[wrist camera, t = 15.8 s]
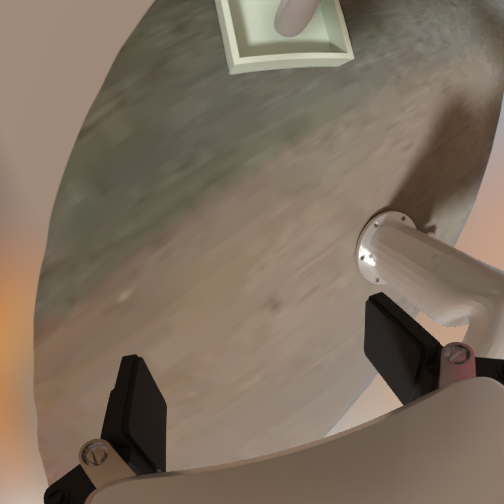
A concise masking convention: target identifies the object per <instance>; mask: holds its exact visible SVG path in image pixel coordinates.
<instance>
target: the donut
mask: <svg viewBox="0 0 504 504" xmlns="http://www.w3.org/2000/svg"><path fill="white" fill-rule="evenodd" d="M319 2H320V0H281V2H280V4H279V7H278V9H277V12H276V16H275V19H274V28H275V30H276V32H277V33H278V34H280V35H282V36H284V37H294V36H297V35H298V34H300V33H301V32H302V31H303V30H304V29H305V28H306V26H307V25H308V23H309V22H310V20H311V19H312V17H313V15H314V13H315V11H316V9H317V7H318V4H319Z"/></svg>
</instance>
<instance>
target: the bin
mask: <svg viewBox="0 0 504 504" xmlns="http://www.w3.org/2000/svg"><path fill="white" fill-rule="evenodd" d="M280 2H281V0H215V5H216V10H217V15H218V20H219V25H220V30H221V35H222V40H223V45H224V50H225V55H226V60H227V65H228V70H229V75H231V74H238V73H246V72H254V71H263V70H273V69H285V68H302V67H338V66H340V65H342V64H344V63H346V62H348V61H351V60H353V59H354V55H353V51H352V47H351V43H350V39H349V35H348V31H347V27H346V24H345V20H344V17H343V13H342V10H341V7H340V3H339V0H320V2H319V4H318V7H317V9H316V11H315V13H314V15H313V17H312V19H311V20H310V22H309V23H308V25H307V26H306V28H305V29H304V30H303V31H302V32H301V33H300V34H298V35H297V36H294V37H284V36H282V35H280V34H278V33H277V32H276V30H275V28H274V19H275V16H276V12H277V9H278V7H279V4H280Z"/></svg>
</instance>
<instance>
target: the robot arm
mask: <svg viewBox="0 0 504 504" xmlns="http://www.w3.org/2000/svg"><path fill="white" fill-rule="evenodd" d="M434 237H435V236H434V233H433V232H428V233H426V234H425V233H423V232H421V231H419V230H417V228H416V226H415V224H414V222H413V221H412V220H411V218H410V217H408V216H407V215H406V214H403V213H401V212H398V211H386V212H383V213H381V214H378V215H377V216H375V217H374V218H373V219H372V220H371V221H370V222H369V223H368V224H367V225H366V226H365V228H364V229H363V231H362V233H361V235H360V237H359V240H358V243H357V248H356V262H357V266H358V269H359V271H360V272H361V274H362V275H363V276H364V277H365V278H366V279H367V280H369V281H370V282H372V283H374V284H379V285H383V284H389V285H390V286H391V287H393V288H394V289H395V290H397V291H398V292H399V293H400V294H402V295H403V296H404V297H405V298H407V299H408V300H409V301H410V302H411V303H413V304H414V305H415V306H416V307H418V308H419V309H420V310H421V311H423V312H424V313H425V314H426V315H427V316H428V317H429V318H431V319H432V320H433V321H434V322H436V323H438V324H440V325H442V326H446V327H457V326H463V325H467V324H469V327H468V330H467V332H466V334H465V336H464V339H463V341H462V343H460V342H452V343H450V344H447V345H446V346H444V347H443V346H442V345H441V344H440V343H439V342H438V341H437V340H436V339H435V338H434V337H433V336H432V335H431V334H430V333H428V332H427V331H426V330H425V329H424V328H423V327H422V326H421V325H420V324H419V323H417V322H416V321H415V320H414V319H413V318H412V317H411V316H410V315H408V314H407V313H406V312H405V311H404V310H403V309H402V308H400V307H399V306H398V305H397V304H396V303H395V302H393V301H392V300H391V299H390V298H389V297H388V296H386V295H385V294H384V293H383V292H380V293H377V294H374V295H371V296H369V299H368V300H367V301H366V306H365V338H364V352H365V355H366V357H367V358H368V359H369V360H370V362H371V363H372V364H373V366H374V367H375V368H376V370H377V371H378V372H379V373H380V375H381V376H382V377H383V379H384V380H385V381H386V383H387V384H388V385H389V387H390V388H391V389H392V391H393V392H394V393H395V395H396V396H397V397H398V399H399V400H400V401H401V403H402V404H403V405H404V406H402V407H400V408H397V409H396V410H393V411H391V412H389V413H387V414H384V415H382V416H380V417H378V418H375V419H373V420H371V421H368V422H366V423H363V424H361V425H359V426H356V427H353V428H351V429H349V430H345V431H343V432H340V433H338V434H335V435H332V436H329V437H326V438H323V439H320V440H317V441H314V442H311V443H308V444H305V445H301V446H298V447H294V448H291V449H287V450H284V451H280V452H276V453H272V454H268V455H264V456H260V457H256V458H251V459H247V460H242V461H237V462H232V463H227V464H221V465H215V466H209V467H202V468H195V469H188V470H180V471H171V472H166V418H167V406H166V402H165V400H164V398H163V396H162V394H161V392H160V391H159V389H158V387H157V385H156V383H155V381H154V379H153V377H152V375H151V373H150V371H149V370H148V368H147V366H146V364H145V361H144V360H143V358H142V357H138V356H137V355H136V354H135V355H128V356H123V357H122V360H121V364H120V368H119V372H118V376H117V380H116V384H115V388H114V389H113V390H112V391H111V393H110V397H109V401H108V405H107V410H106V414H105V418H104V423H103V428H102V433H101V437H100V439H92V440H89V441H87V442H86V443H85V444H84V445H82V447H81V448H80V450H79V453H78V460H79V463H80V464H79V465H78V466H76V467H75V468H74V469H72V470H71V471H70V472H68V473H67V474H66V475H64V476H63V477H62V478H60V479H59V480H58V481H56V482H55V483H53V484H52V485H51V486H50V487H49V488H48V489H47V490H46V492H45V494H44V504H504V271H503V270H500V269H498V268H495V267H493V266H490V265H488V264H486V263H484V262H482V261H480V260H478V259H476V258H474V257H472V256H469V255H468V254H466V253H464V252H462V251H460V250H458V249H456V248H454V247H452V246H450V245H448V244H446V243H444V242H442V241H440V240H438V239H436V238H434Z"/></svg>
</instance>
